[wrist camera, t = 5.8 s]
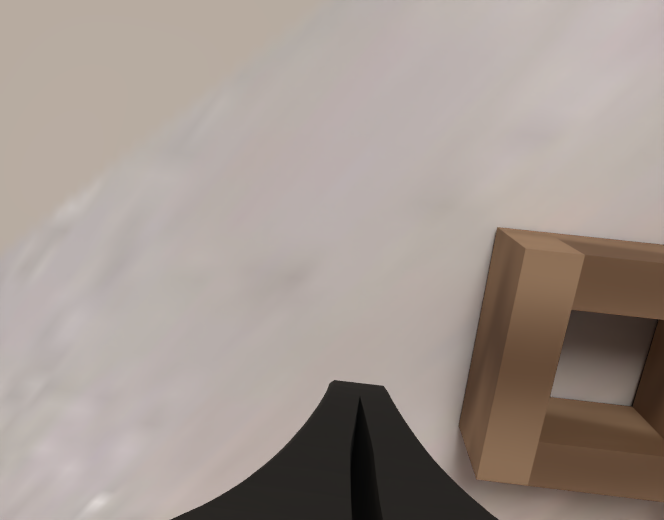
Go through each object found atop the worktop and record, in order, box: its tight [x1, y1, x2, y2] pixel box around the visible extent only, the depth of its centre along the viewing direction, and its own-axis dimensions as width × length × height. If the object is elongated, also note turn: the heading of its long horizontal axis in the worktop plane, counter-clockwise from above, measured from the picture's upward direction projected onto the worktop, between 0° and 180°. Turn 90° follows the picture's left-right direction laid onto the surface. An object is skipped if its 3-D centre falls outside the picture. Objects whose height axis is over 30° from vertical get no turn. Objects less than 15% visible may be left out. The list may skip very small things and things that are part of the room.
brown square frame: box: [459, 227, 664, 502], centre depth 16 cm, size 8×8×3 cm
